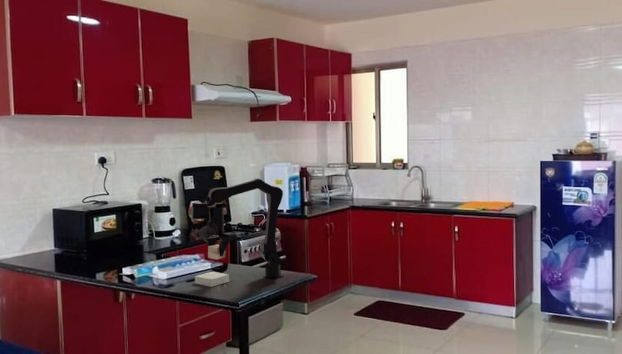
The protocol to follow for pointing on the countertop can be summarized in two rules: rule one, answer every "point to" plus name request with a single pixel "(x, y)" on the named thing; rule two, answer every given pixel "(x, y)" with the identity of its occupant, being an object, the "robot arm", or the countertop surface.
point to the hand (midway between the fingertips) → (216, 255)
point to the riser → (211, 279)
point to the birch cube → (214, 252)
